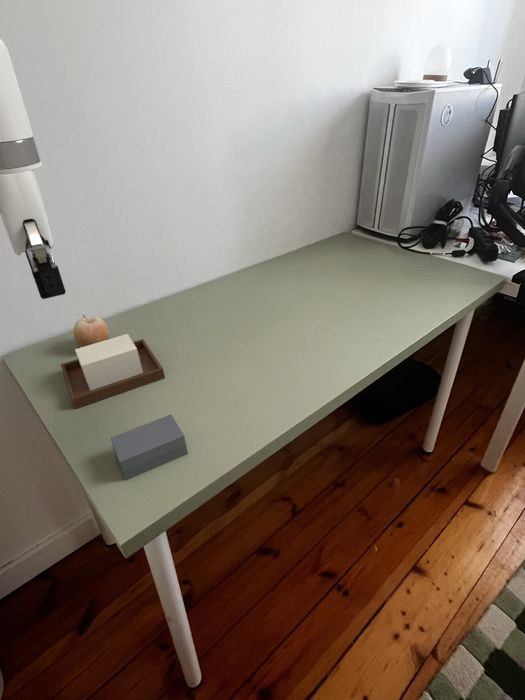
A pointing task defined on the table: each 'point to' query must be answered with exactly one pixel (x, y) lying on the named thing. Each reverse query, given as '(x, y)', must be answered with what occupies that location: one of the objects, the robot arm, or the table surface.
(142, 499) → the table surface
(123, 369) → the white book upper
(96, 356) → the white book
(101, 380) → the white book lower
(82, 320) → the fruit
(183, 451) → the grey book lower
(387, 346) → the table surface
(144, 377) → the book tray
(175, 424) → the grey book upper
